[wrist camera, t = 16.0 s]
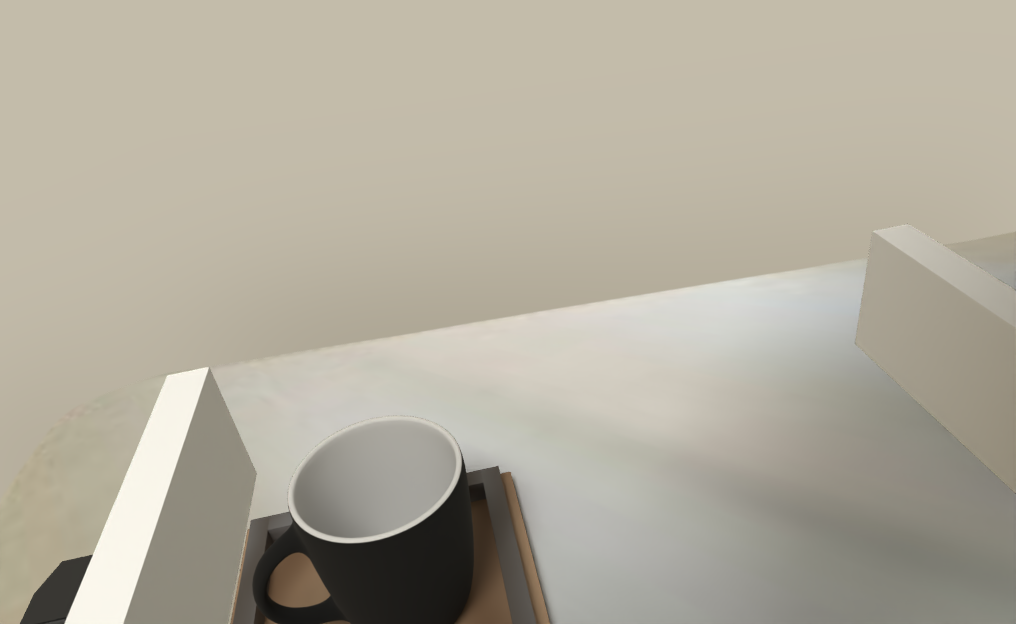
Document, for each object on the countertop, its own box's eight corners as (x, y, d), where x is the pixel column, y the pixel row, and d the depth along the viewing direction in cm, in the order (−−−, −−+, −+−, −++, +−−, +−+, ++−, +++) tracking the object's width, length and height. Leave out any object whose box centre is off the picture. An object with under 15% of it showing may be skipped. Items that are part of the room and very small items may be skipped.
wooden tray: (512, 484, 49) (507, 455, 48) (579, 745, 34) (576, 715, 33) (253, 541, 48) (240, 513, 46) (202, 843, 32) (180, 815, 31)
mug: (452, 515, 46) (423, 393, 41) (517, 619, 39) (493, 488, 34) (269, 604, 42) (211, 480, 37) (305, 737, 35) (240, 609, 30)
